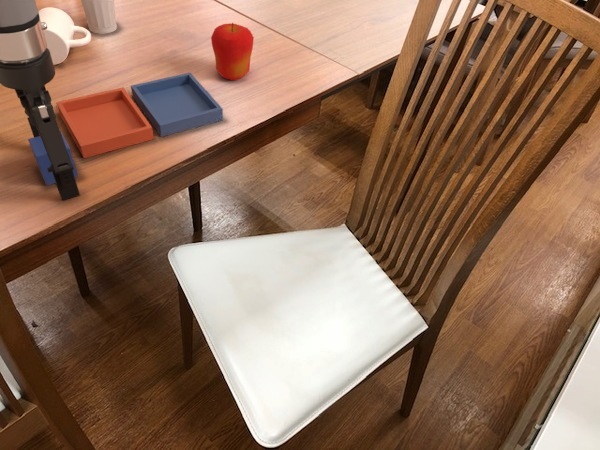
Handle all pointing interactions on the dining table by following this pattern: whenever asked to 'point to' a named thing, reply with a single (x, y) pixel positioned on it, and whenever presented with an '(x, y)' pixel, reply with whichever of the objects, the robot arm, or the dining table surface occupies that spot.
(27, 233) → the dining table surface
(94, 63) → the dining table surface
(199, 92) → the blue tray
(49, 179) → the block
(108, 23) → the cup
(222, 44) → the apple
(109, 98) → the red tray
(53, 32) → the mug
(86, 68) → the dining table surface
